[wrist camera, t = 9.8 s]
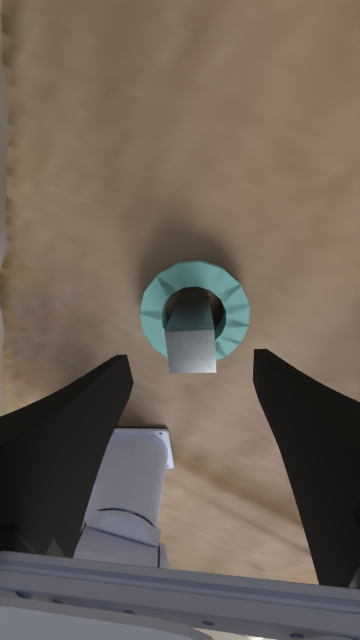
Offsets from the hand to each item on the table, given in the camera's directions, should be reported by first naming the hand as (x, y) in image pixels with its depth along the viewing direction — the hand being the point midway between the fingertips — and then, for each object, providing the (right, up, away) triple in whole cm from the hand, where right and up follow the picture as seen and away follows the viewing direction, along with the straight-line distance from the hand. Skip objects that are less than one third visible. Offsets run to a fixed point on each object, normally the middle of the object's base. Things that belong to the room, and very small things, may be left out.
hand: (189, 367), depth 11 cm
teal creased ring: (+1, +4, +9) cm, 10 cm away
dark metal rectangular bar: (+1, +3, +9) cm, 10 cm away
